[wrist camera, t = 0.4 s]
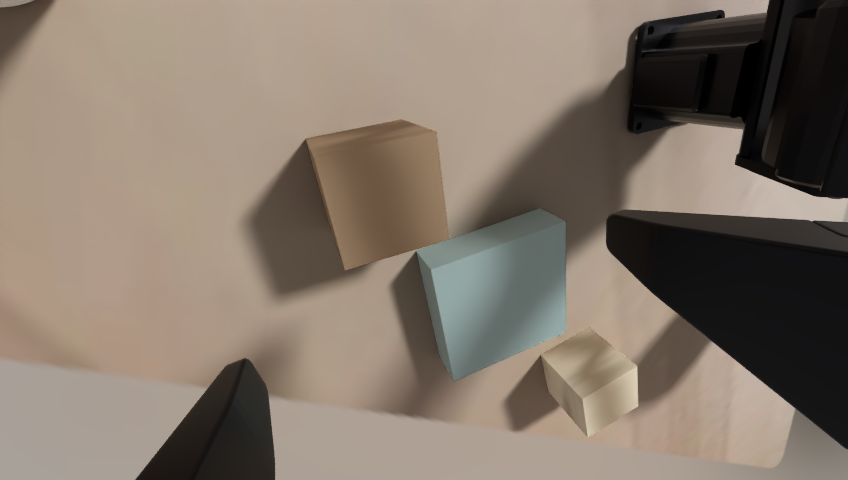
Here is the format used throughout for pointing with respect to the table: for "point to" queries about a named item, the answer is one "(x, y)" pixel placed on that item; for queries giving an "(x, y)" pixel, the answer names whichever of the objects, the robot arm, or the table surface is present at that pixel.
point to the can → (13, 2)
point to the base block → (496, 290)
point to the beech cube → (591, 380)
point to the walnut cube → (380, 190)
